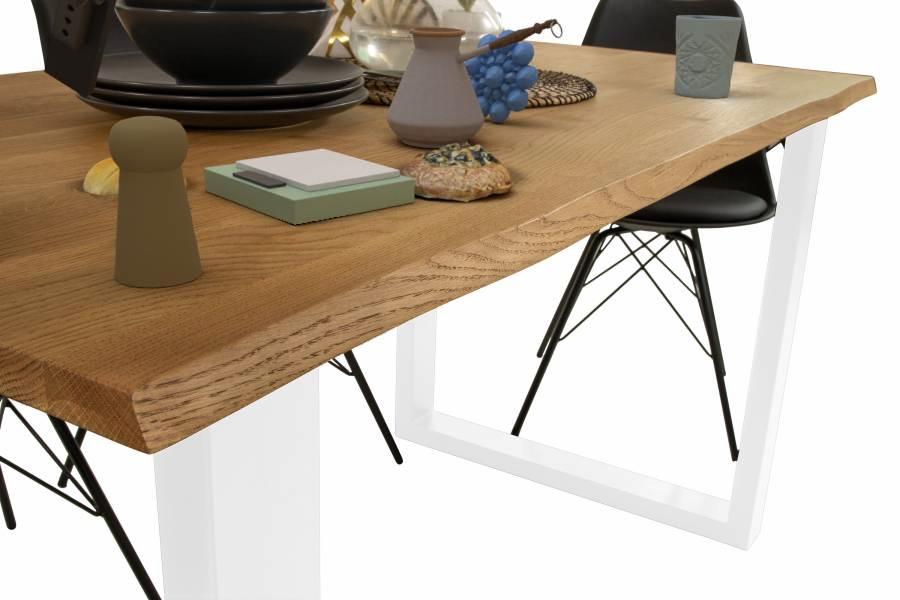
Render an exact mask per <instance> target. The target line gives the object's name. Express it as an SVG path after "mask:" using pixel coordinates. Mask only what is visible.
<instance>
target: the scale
mask: <svg viewBox="0 0 900 600" xmlns="http://www.w3.org/2000/svg"><path fill="white" fill-rule="evenodd" d="M203 177H204V178H203V179H204V191H205V192H208V193H209V194H213V195H215V196H218V197H220V198H223V199H225V200H228V201H231V202H233V203H236V204H238V205H240V206H243V207H245V208H249V209H252V210H254V211H256V212H259V213H261V214H264V215H267V216H269V217H271V218H274V219H277V220H279V219H280V221H282V220H283V221H282V222H285V221H286V222H285V223H287V222H288V223H287V224H290V223H292V224H294V225H293V226H295V225H296V224H301V223H305V222H310V221H316V222H320V221H319V220H321V221H325V220H324V219H326V220H330V219H329V218H332V219H335V218H334V217H337V218H341V217H340V216H342V217H345V216H346V215H347V216H351V215H356V214H357V215H358V214H361V213H362V214H363V213H366V212H371V211H377V210H383V209H388V208H392V207H397V206H402V205H407V204H412V203H415V194H414V187H415V179H413V178H409V177H406V176H402V175H401V170H400V169H397V168H393V167H389V166H386V165H383V164H379V163H376V162H371V161H368V160H366V159H365V160H364V159H361V158H358V157H355V156H351V155H347V154H343V153H341V152H336V151H334V150H329V149H326V148H319V149H317V148H316V149H311V150H304V151H298V152H297V151H295V152H289V153H282V154H276V155H269V156H262V157H255V158H248V159H241V160H236V161H235V163H230V164H222V165H215V166H208V167H203ZM347 216H346V217H347ZM292 224H291V225H292ZM301 225H302V224H301ZM296 226H297V225H296Z"/></svg>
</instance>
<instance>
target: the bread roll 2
mask: <svg viewBox="0 0 900 600" xmlns="http://www.w3.org/2000/svg"><path fill="white" fill-rule="evenodd" d="M400 175H402V176H406V177H409V178H413V179H415V187H414V195H416V196H420V197H423V198H427V199H432V198H433V199H443V200H452V201H460V202H464V203H467V202H469V201H473V200H476V199H477V200H479V199H481V198H487V197H488V196H489V195H493V194H497V195H498V194H499V195H500V194H505V193H508V192H509V190H510V189H511V188H512V187H513V186H515V182H513V181H512V179H511V174H510V172H509V170H508V168H507V167H506V166H505V165H504V164H503V163H501V161H500V160H499V159H498V158H496V157H495V155H494V154H493V153H492V152H490V151H485V150H484V148H483V146H482V145H481V144H479V143H478V144H475V145H471V144H469V143H466V144H464V145H462V146H460V145H459V144H458V143H453V144H450V145H447V146H444V147H442V148H438V149H433V150H431V151H425V152H424V153H421V152H420V153H418V154H416V155H415V156H414V159H413V160H412V161H410V162H409V163H408V164H407V165H406V166H405V167H404V168H403V169H402V172H401V173H400Z"/></svg>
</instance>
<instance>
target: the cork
mask: <svg viewBox="0 0 900 600" xmlns="http://www.w3.org/2000/svg"><path fill="white" fill-rule="evenodd" d="M107 143H108V150H109V153H110V157H112V159H113V161H114V162H115V163H116V165H117V166H118V167H119V188H118V198H117V210H116V211H117V213H116V230H115V231H116V233H115V234H116V235H115V253H114V254H115V255H114V256H115V258H114V274H113V276H114V280H115V281H117V283H120V284H122V285H124V286H125V285H126V286H129V287H136V288H166V287H172V286H179V285H182V284H183V285H184V284H186V283H189V282H192V281H194V280H196V279H198V278H200V277H201V275H202V274H203V272H204V271H203V267H202V261H201V257H200V256H201V255H200V250H199V247H198V242H197V237H196V231H195V226H194V222H193V217H192V212H191V211H192V210H191V207H190V202H189V197H188V192H187V186H186V187H185V182H184V177H185V176H184V177H183V175H184V172H183V167H182V165H183V164H184V162H185V161H186V159H187V157H188V155H189V153H188V152H189V138H188V135H187V132H186V130H185V128H184V127H183V125H182V123H180V121H177V120H176V119H173V118H170V117H164V116H157V115H155V116H154V115H140V116H139V115H138V116H133V117H128V118H124V119H121V120H119V121H117V122H116V123H115V124H112V127H111V129H110V131H109V132H108V139H107Z"/></svg>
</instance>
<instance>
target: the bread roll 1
mask: <svg viewBox="0 0 900 600" xmlns="http://www.w3.org/2000/svg"><path fill="white" fill-rule="evenodd" d="M183 177H184V182H185V187H186V188H187V186H188V182H187V179H186V178H185V176H184V174H183ZM82 185H83V186H82V189H83V191H85V193H88V194H91V195H96V196H99V197H105V198H106V197H107V198H112V199H113V198H114V199H118V188H119V167H118V166H117V165H116V163H115V162H114V161H113V159H112V156H110V157H107V158H105V159H103V160H101V161H99V162H97V163H95V164H94V165H93V166H92V167H91V168H90V169H89V170H88V172H87V173H86V175H85V178H84V180H83V183H82Z"/></svg>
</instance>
